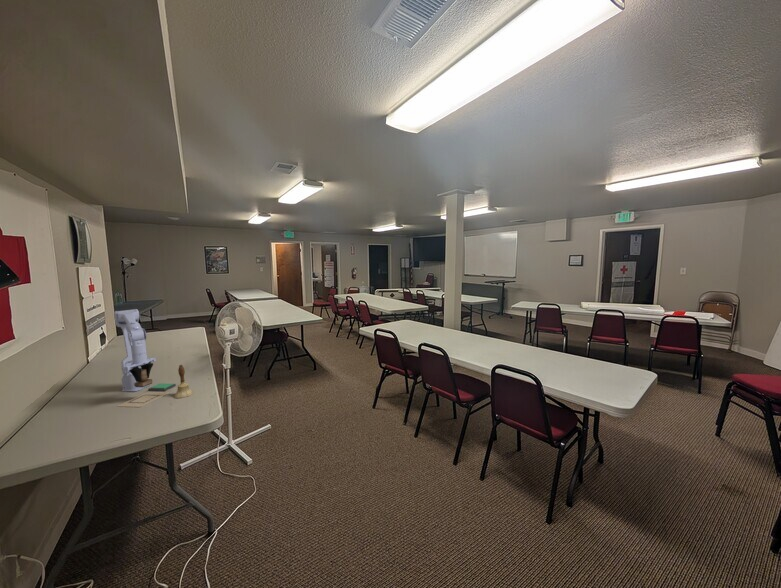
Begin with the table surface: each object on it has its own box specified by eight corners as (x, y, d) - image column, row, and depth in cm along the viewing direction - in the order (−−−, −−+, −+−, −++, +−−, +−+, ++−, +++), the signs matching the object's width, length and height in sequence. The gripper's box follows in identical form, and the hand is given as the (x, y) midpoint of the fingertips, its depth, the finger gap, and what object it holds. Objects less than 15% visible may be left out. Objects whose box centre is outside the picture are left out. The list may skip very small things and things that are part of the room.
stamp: (134, 387, 147) (132, 372, 146) (144, 383, 152) (142, 368, 151) (143, 387, 146) (140, 372, 145) (152, 383, 151) (150, 368, 150)
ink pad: (148, 390, 160) (148, 388, 160) (160, 385, 167) (159, 382, 166) (164, 391, 158) (164, 388, 158) (175, 385, 165) (175, 383, 165)
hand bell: (197, 391, 156) (194, 362, 155) (185, 398, 148) (181, 367, 147) (183, 391, 157) (179, 362, 156) (169, 398, 149) (166, 367, 147)
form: (116, 406, 142) (116, 405, 142) (148, 392, 158) (148, 391, 158) (140, 407, 140) (139, 406, 140) (169, 392, 156) (169, 392, 156)
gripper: (131, 358, 140) (135, 385, 141) (159, 349, 154) (162, 374, 155) (118, 358, 141) (122, 385, 142) (147, 349, 155) (150, 374, 156)
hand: (142, 379), depth 149 cm, fingers closed on stamp, 4 cm apart
